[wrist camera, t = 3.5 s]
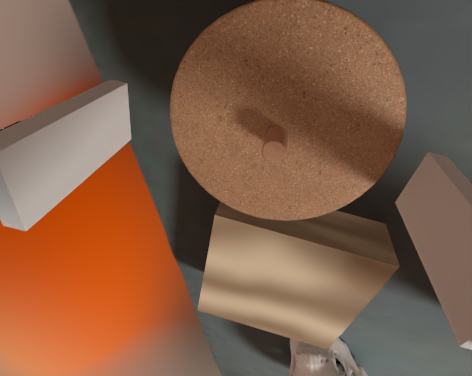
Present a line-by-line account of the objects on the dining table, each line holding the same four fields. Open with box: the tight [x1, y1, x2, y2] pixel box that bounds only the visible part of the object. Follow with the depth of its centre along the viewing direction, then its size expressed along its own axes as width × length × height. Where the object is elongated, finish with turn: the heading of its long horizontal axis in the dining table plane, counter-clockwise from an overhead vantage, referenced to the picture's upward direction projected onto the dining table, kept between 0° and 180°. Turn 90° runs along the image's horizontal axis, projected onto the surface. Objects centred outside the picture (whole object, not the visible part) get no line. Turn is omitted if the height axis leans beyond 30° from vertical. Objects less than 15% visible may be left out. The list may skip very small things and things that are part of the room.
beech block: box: [198, 201, 400, 350], centre depth 27 cm, size 14×14×5 cm
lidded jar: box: [170, 0, 407, 221], centre depth 15 cm, size 11×11×9 cm
